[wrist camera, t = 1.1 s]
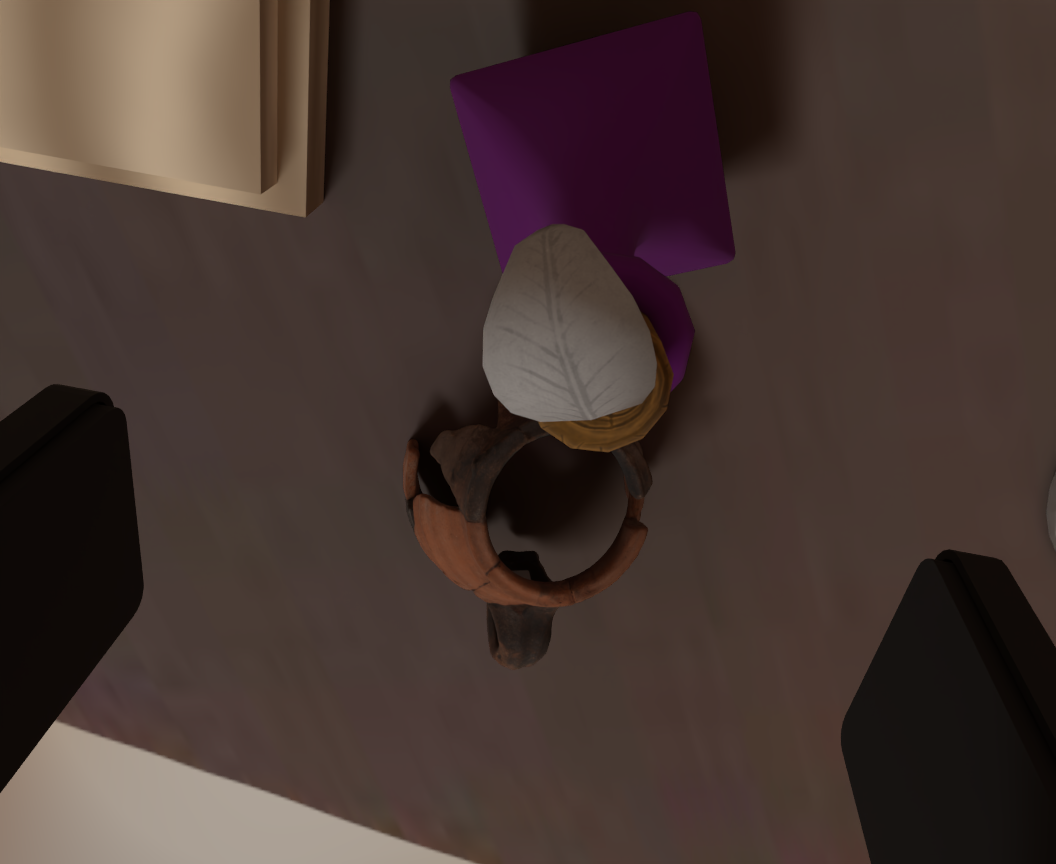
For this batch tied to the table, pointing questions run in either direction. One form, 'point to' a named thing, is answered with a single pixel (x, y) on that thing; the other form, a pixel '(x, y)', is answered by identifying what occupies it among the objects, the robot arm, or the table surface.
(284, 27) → the plinth
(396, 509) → the table surface
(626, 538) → the pottery mug
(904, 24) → the table surface
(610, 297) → the perfume bottle
